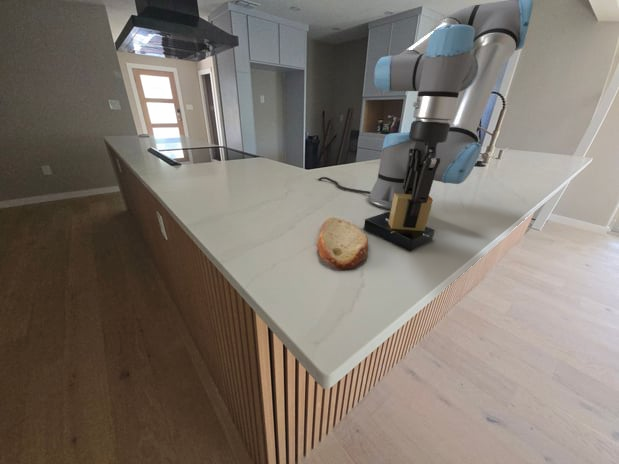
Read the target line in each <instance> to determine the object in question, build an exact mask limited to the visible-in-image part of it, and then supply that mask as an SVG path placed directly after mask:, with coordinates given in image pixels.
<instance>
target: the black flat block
mask: <svg viewBox="0 0 619 464" xmlns="http://www.w3.org/2000/svg"><path fill="white" fill-rule="evenodd" d="M390 212H391V211H386V212H383V213H379V214H377V215H374V216H370V217H368V218H364V225H363V230H364V231H367V232H368V233H370V234H372V235H375V236H377V237H379V238H380V239H383V240H385V241H387V242H389V243H391V244H393V245H395V246H397V247H399V248H402V249H403V250H406V251H408V252H412V251H414V250H416V249H418V248H419V247H421V246H424V245H426V244H427V243H429V242H431V241H432V240H433V237H434V234H435V232H436V229H434V228H432V227H429V226H426V227H425V230H424V231H417V230H402V229H391V227H390V225H389V223H388V222H389V217H390Z"/></svg>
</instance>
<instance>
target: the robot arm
mask: <svg viewBox="0 0 619 464" xmlns="http://www.w3.org/2000/svg"><path fill="white" fill-rule="evenodd" d="M534 4H535V2H534V0H501V1H494V2H487V3H480V4H473V5H469V6H466V7H463V8H460V9H458V10H456V11H454V12H453V13H451V14H449V15H447V16H445V17H444V18H442V19H440V20H439V21H438V22H436V23H435V24H434V25H433V26H432V28H431V29H430V31H429V32H428V33H427V34H426V35H424V36H423V37H421V38H420V39H419V40H418V41H416V42H415V43H413V44H411V46H409V47H408V48H406V49H404V50H403V51H402V52H400V53H399V54H397V55H392V54H390V55H388V56H387V55H386V56H381V57H380V58H379V59H378V61H377V63H376V65H375V68H374V73H373V77H374V78H373V82H374V86H375V88H376V89H377V90H378V91H382V92H383V91H384V92H390V93H391V92H417V97H416V101H414V102H413V103H412V106H413V108H414V111H413V116H412V117H413V119H415V120H413V121H412V122H411V123H410V128H409V132H408V131H407V132H394V133H393V132H392V133H388V134H386V136H385V137H384V140H383V143H382V147H381V154H380V155H381V156H380V161H379V167H378V174H377V179H376V181H375V183H374V185H373V187H372V189H371V191H369V190H362V189H356V188H350V187H345V186H343V185H340V184H339V182H338V181H336V180H334V179H332V178H330V177H327V176H321V177H318V179H317V181H322V180H327V181H329V182H331V183H333V184H335V185H336V187H337V188H339V189H342V190H345V191H348V192H355V193H360V194H368V202H369V203H370V204H371V205H373V206H376V207H378V208H381V209H385V210H389V211H391V208H392V203H393V198H394V193H399V194H412V197H411V199H408V202H409V203H408V207H407V211H406V215H405V220H404V224H403V227H407V228H415V227H416V223H417V219H418V215H419V212H420V208H421V204H422V203H427V200H428V197H429V196H430V193H431V190H432V186H433V183H434V181H435V182H441V183H442V184H453V185H454V184H455V185H459V184H462V183H463V182H465V181H466V180H467V178H469V176H470V175H471V173H472V171H473V169H474V167H475V166H476V164H477V162H478V161H477V160H478V159H479V156H480V155H481V151H482V144H481V143H480V142H479V140H480V139H479V136H478V134H477V133H476V132H477V129H478V127H479V125H480V122H481V120H482V117H483V116H484V112H485V110H486V107H487V104H488V103H489V100H490V97H491V95H492V92H493V90H494V87H495V85H496V83H497V81H498V77H499V75H500V73H501V71H502V68H503V65H504V63H506V62H507V61H509V59H511V58H512V57H513V55H514V53H515V51H519V50H521V49H523V48H524V46H525V42H526V37H527V35H528V34H527V33H528V29H529V24H530V20H531V17H532V12H533V8H534Z"/></svg>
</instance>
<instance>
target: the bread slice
mask: <svg viewBox="0 0 619 464" xmlns="http://www.w3.org/2000/svg"><path fill="white" fill-rule="evenodd" d="M368 244H369V239H368V237H367V235H366V233H365V232H362V230H360V228H359V227H357V225H355V224H353V223H351V222H349V221H346V220H345V219H341V218H336V217H327V218H326V220H324V222H323V224H322V227H321V230H320V232H319V235H318V238H317V243H316V247H317V251H318V254H319V256H320V257H321V259H322V260H323V261H324V262H326V263H327V264H328V265H330V266H332V267H334V269H336V270H350V269H353V268H355V267H356V266H357V265H358V264H359V263H360V262H362V261H364V260H365V259H366V258H367V257H368V256H367V255H368V254H369V245H368Z"/></svg>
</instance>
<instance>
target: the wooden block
mask: <svg viewBox="0 0 619 464" xmlns="http://www.w3.org/2000/svg"><path fill="white" fill-rule="evenodd" d="M411 197H412V194H399V193H394V198H393V203H392V208H391V210H390V211H389V212H390V217H389V222H388V223H389V225H390V227H391V229H402V230H417V231H424V230H425V227H427V224H428V219H429V216H430V212H431V208H432V205H433V202H434V199H433V198H432V197H431V196H430V195H429V197H428V200H427V203H422V204H421V208H420V212H419V215H418V219H417V223H416V227H415V228H407V227H403V224H404V220H405V215H406V211H407V207H408V203H409V202H408V199H411Z"/></svg>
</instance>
